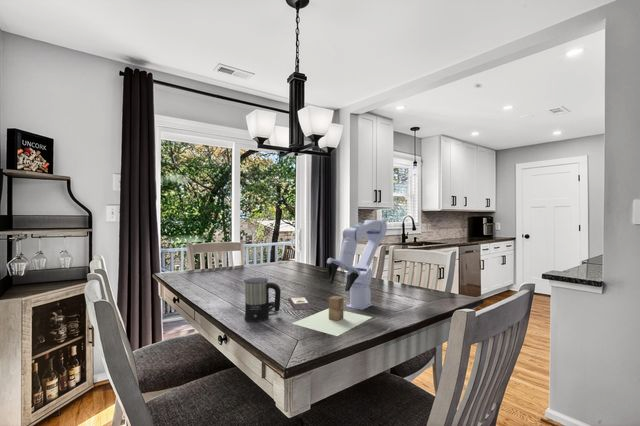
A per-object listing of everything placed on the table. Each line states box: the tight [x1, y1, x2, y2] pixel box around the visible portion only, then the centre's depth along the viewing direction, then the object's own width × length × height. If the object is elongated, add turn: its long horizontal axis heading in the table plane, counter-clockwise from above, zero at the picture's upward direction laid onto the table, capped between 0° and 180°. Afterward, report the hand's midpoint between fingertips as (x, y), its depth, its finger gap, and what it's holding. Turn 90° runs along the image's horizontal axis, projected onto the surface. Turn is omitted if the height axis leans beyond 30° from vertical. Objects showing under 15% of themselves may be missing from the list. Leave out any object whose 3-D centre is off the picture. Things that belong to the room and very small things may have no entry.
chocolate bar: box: [287, 296, 317, 311], centre depth 144 cm, size 9×1×18 cm
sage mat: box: [291, 307, 373, 337], centre depth 122 cm, size 24×20×1 cm
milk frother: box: [243, 277, 282, 322], centre depth 129 cm, size 14×16×15 cm
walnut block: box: [328, 295, 344, 321], centre depth 123 cm, size 4×4×8 cm
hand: (338, 287), depth 125 cm, fingers open, 7 cm apart
